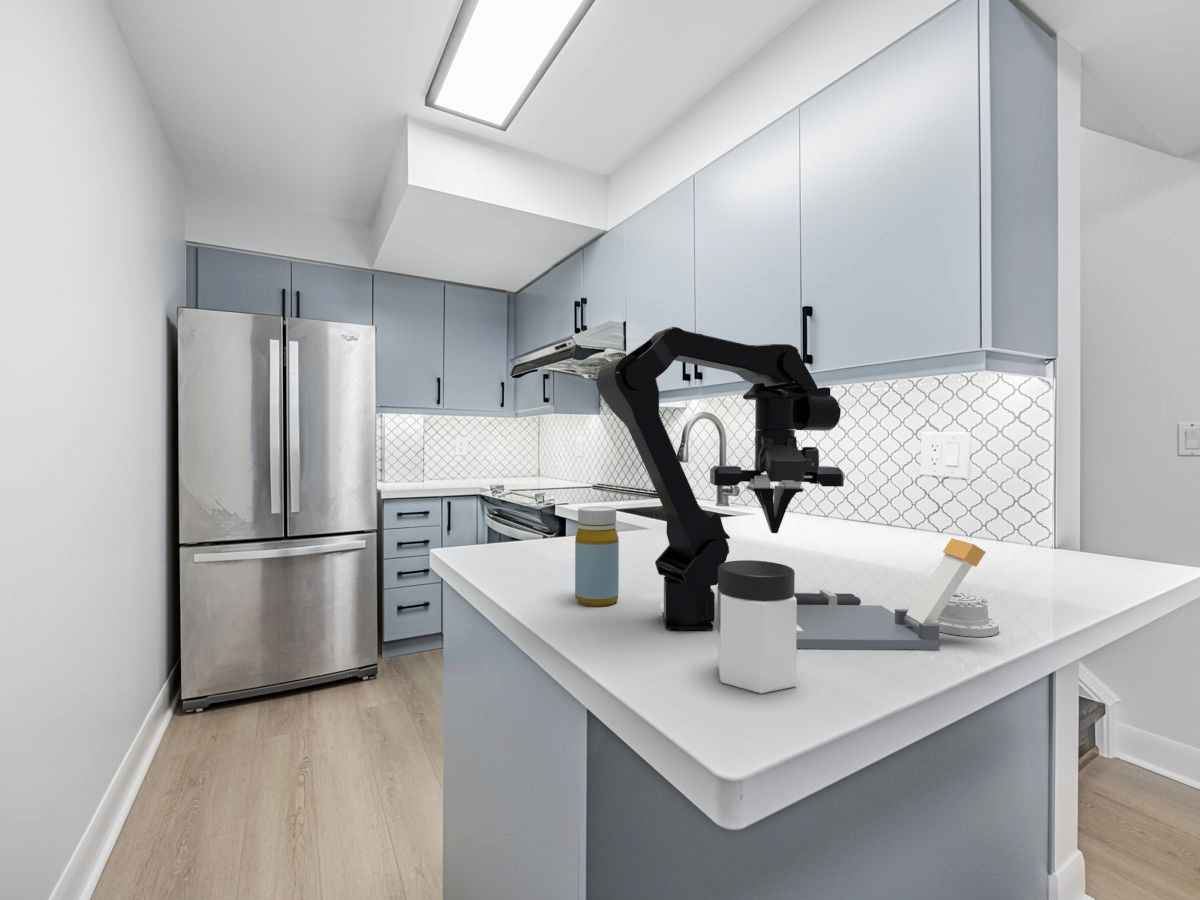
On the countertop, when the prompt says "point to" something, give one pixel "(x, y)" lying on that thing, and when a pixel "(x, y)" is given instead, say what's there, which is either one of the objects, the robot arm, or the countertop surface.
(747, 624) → the jar
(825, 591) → the dressed cords
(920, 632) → the plate
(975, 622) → the mechanical component
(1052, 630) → the countertop surface
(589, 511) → the bottle
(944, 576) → the lever
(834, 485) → the robot arm
